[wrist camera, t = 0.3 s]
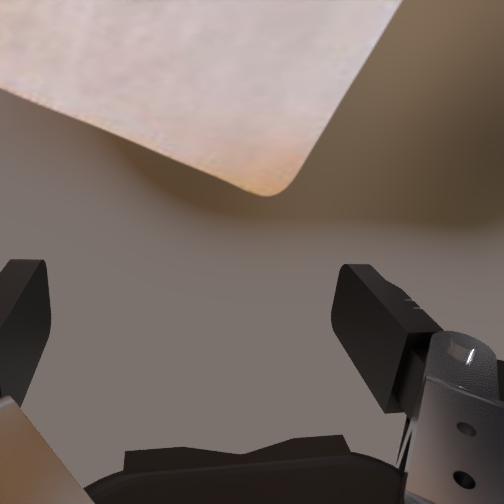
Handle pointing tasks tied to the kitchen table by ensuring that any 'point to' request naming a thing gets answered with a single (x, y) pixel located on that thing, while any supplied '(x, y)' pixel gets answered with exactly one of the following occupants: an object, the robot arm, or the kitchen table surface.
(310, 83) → the kitchen table surface
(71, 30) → the kitchen table surface
